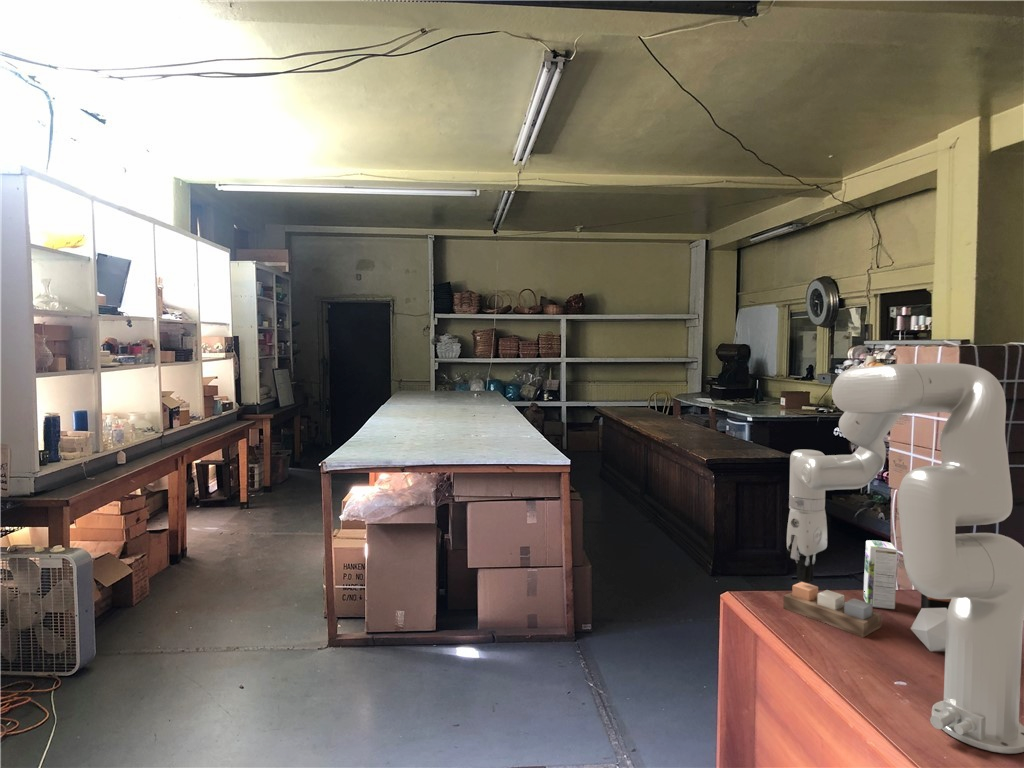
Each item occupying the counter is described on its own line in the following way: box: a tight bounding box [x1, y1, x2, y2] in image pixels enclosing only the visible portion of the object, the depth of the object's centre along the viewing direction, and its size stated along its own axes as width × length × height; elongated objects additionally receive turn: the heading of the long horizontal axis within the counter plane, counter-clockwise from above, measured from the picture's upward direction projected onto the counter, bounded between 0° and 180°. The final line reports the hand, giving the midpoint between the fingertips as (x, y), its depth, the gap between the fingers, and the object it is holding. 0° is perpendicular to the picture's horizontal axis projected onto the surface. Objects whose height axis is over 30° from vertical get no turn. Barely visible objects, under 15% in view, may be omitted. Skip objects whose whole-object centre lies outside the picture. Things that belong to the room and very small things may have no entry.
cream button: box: [817, 589, 845, 610], centre depth 138 cm, size 4×4×3 cm
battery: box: [920, 593, 951, 609], centre depth 136 cm, size 4×7×10 cm, turn 158°
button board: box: [782, 592, 882, 638], centre depth 138 cm, size 18×8×3 cm, turn 35°
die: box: [910, 607, 948, 652], centre depth 123 cm, size 8×9×10 cm
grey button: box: [844, 597, 874, 620], centre depth 133 cm, size 4×4×3 cm
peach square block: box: [791, 581, 819, 601], centre depth 143 cm, size 4×4×3 cm
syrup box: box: [863, 539, 898, 610], centre depth 145 cm, size 6×6×14 cm
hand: (804, 579), depth 143 cm, fingers closed
